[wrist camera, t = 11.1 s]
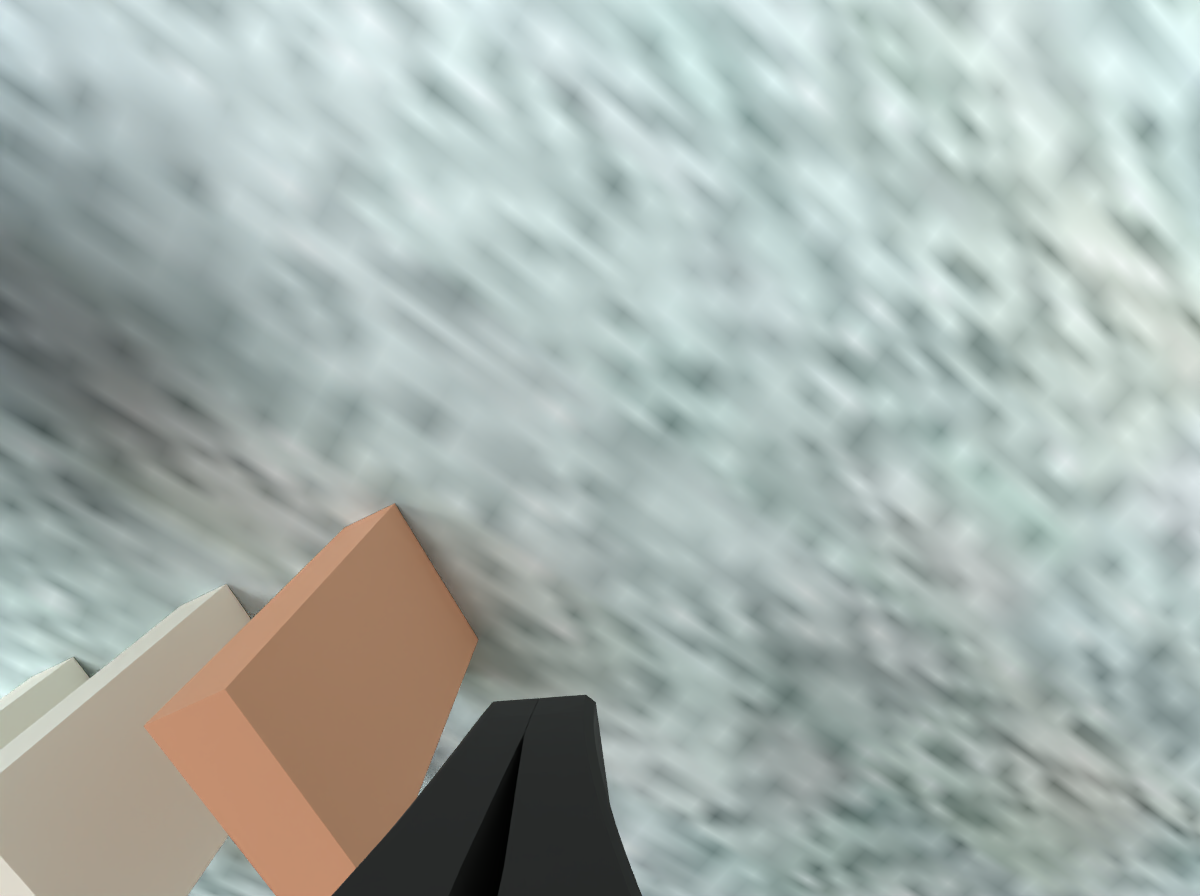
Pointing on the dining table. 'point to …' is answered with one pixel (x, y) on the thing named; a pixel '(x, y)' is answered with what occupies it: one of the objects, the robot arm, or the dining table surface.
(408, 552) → the rust domino
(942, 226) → the dining table surface
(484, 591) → the dining table surface
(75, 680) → the ivory domino
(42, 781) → the ivory domino
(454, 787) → the robot arm
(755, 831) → the dining table surface
